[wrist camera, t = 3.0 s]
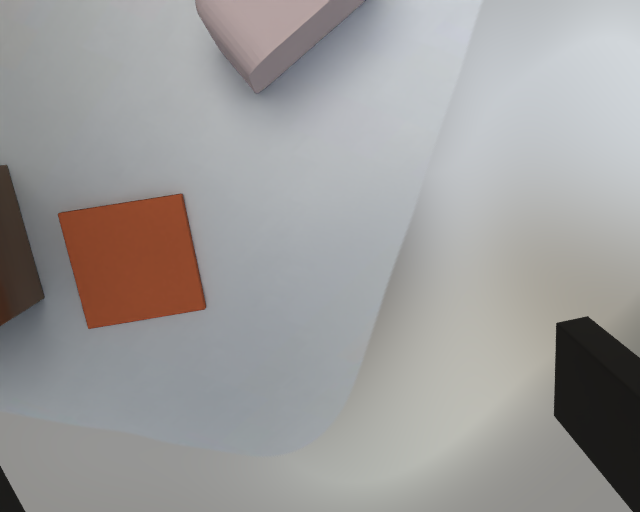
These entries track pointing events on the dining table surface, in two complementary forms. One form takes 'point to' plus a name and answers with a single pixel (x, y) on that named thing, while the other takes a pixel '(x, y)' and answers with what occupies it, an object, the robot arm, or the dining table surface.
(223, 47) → the electronic device
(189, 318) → the dining table surface
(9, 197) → the block
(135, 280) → the terracotta mat
